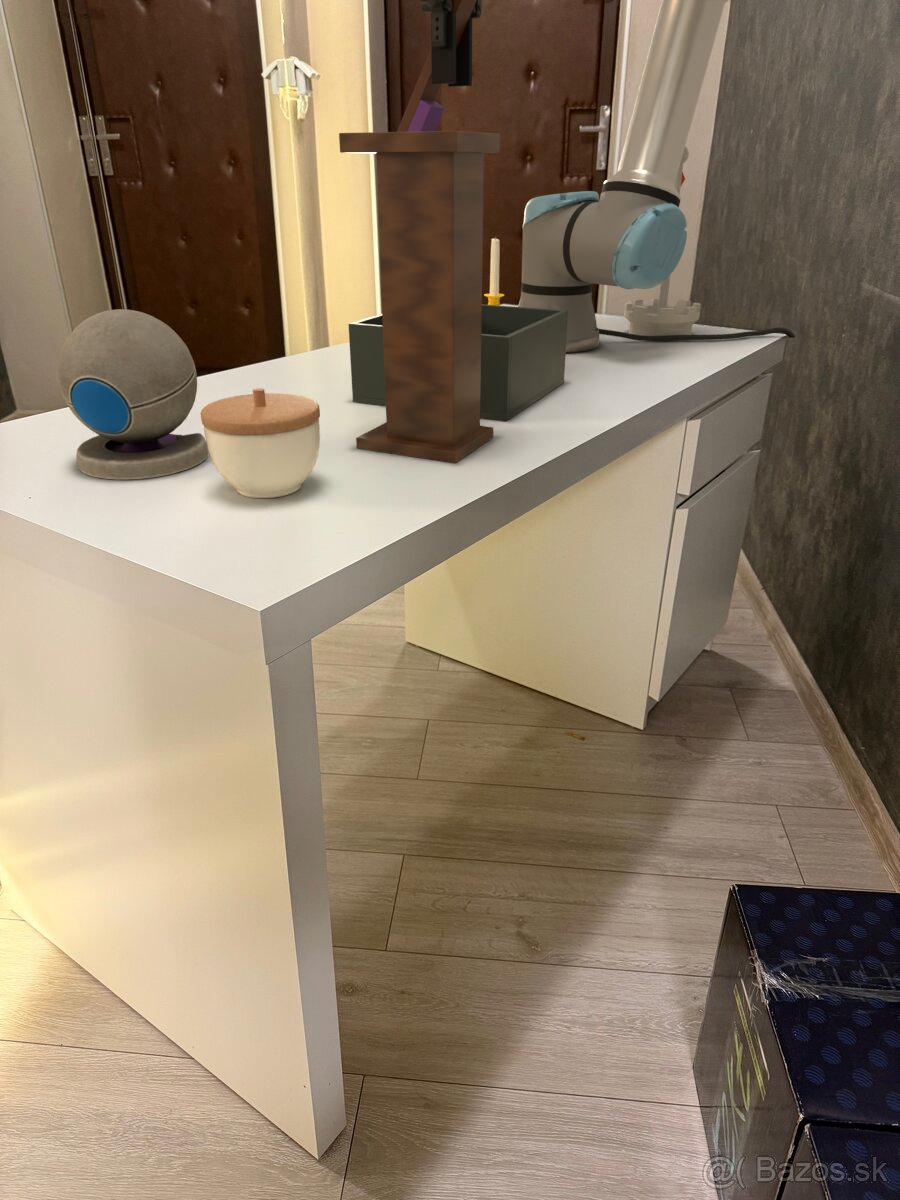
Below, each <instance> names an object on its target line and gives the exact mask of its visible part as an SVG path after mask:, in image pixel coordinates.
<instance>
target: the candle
mask: <svg viewBox="0 0 900 1200" xmlns="http://www.w3.org/2000/svg"><path fill="white" fill-rule="evenodd" d="M494 237H495V238H491V242H490V267H489V268H490V269H489V272H490V273H489V293H484V294H483V296H484V297H486V298H487V300H488V303H487V305H499V306H501V303H500V300H501V298H502V297H505V294H504V293H500V254H501V253H500V250H501V249H500V247H501V246H500V245H501V244H500V239H498V238H497V236H496V235H495V236H494Z"/></svg>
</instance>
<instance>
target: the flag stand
mask: <svg viewBox="0 0 900 1200" xmlns="http://www.w3.org/2000/svg"><path fill="white" fill-rule="evenodd" d="M689 153H690V152H689V149H688V147H687V146H686V145H685V148H684V152H683V155H682V159H681V162H680V166H679V169H678V173H677V177H676V180H675V188H676V190H677V192H678V194H679V195H680V194H681V188H682V186H683V184H684V182H685V180H686V177H685V174H684V172H683V168H684V163H686V162H687V161H688V159H689ZM680 196H681V195H680ZM670 282H671V275H670V276H669V277H668V278H667V279H665V280H663V281H662V282H661V283H660V284H659V287H660V288H659V294H658V297H652V298H651V304H644V299H643V298H634V299H633V298H632V299H630V301H625V306H624V314H623V315H624V318H625V319H626V320H627V321H628V322H629V326H628V333H629V334H634V335H643V336H666V335H692V329H693V325H694V324H695V323H696V322H697V321H698V320H699V319H700V314H701V308H702V307H701V306H702V304H701V303H700V302H692V300H688V299H680V298H679V299H677V300H676V305H675V304H668V298H669V290H670Z"/></svg>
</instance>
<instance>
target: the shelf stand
mask: <svg viewBox="0 0 900 1200" xmlns="http://www.w3.org/2000/svg"><path fill="white" fill-rule="evenodd" d="M338 140H339V142H338V143H339V153H340V154H342V153H343V154H375V155H376V156H375V159H376V161H375V162H376V185H377V206H378V207H377V209H378V210H377V212H378V234H379V235H378V236H379V237H378V238H379V262H380V290H381V314H382V318H383V344H384V371H385V397H386V406H385V418H386V419H385V421H386V422H384V423H381V424H380V425H378V426H376V427H374V428H372V429H370V430H368V431H366V432H365V433H363V434H361V435H359V436H356V437H355V443H356V444H355V445H356V449H361V450H367V451H373V452H379V453H386V454H393V455H400V456H406V457H413V458H420V459H425V460H432V461H438V462H446V463H453V464H457V463H458V462H460V461H461V460H462V459H464V458H465V457H467V456H468V455H470V454H471V453H473V452H475V450H477V449H478V448H480V447H482V446H483V445H484V444H486V443H488V442H489V441H490V440H492V439H493V438H494V427H492V426H485V425H481V418H480V383H481V318H482V303H483V248H484V247H483V246H484V185H485V184H484V181H485V180H484V178H485V176H484V175H485V172H484V171H485V154H499V153H500V152H501V134H500V133H492V132H479V131H478V132H476V131H464V130H463V131H462V130H435V131H424V132H397V131H378V132H377V131H376V132H339V133H338Z"/></svg>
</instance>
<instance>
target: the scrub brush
mask: <svg viewBox="0 0 900 1200" xmlns="http://www.w3.org/2000/svg"><path fill="white" fill-rule="evenodd" d="M476 1H477V0H452V9H451V11H448V13H456V48H457V46H458V43H459V41H460V39H461V36H462V34H463V31H464V29H465V27H466V24H467V22H468V20H469V17H470V15H471V13H472V10H473V8H474V6H475V3H476ZM441 85H442V84H432V61H431V49H430V50H429V52H428V54H427V57H426V59H425V62H424V64H423V66H422V69H421V71H420V73H419V76H418V79H417V82H416V83H415V87H414V89H413V91H412V94H411V96H410V99H409V101H408V104H407V106H406V109H405V110H404V113H403V116H402V119H401V121H400V123H399V126H398V128H397V130H396V132H424V131H436V129H437V126H438V124H439V122H440V120H441V118H442V115H443V112H444V110H445V107H444V106H442V105H441V104H440V103H438V102H437V101H436V97H437V95H438V93H439V90H440V88H441Z"/></svg>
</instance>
